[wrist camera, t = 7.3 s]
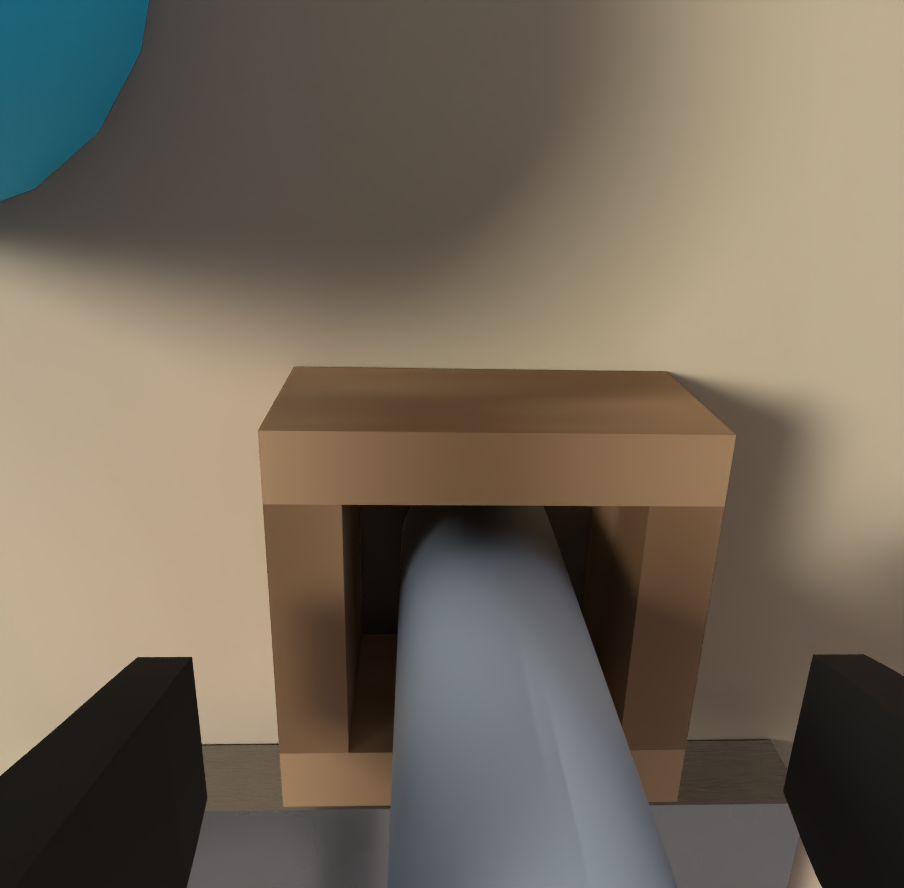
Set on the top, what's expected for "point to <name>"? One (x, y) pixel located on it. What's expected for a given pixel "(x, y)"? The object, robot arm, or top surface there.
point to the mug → (59, 79)
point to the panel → (367, 827)
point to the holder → (485, 483)
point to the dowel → (506, 719)
